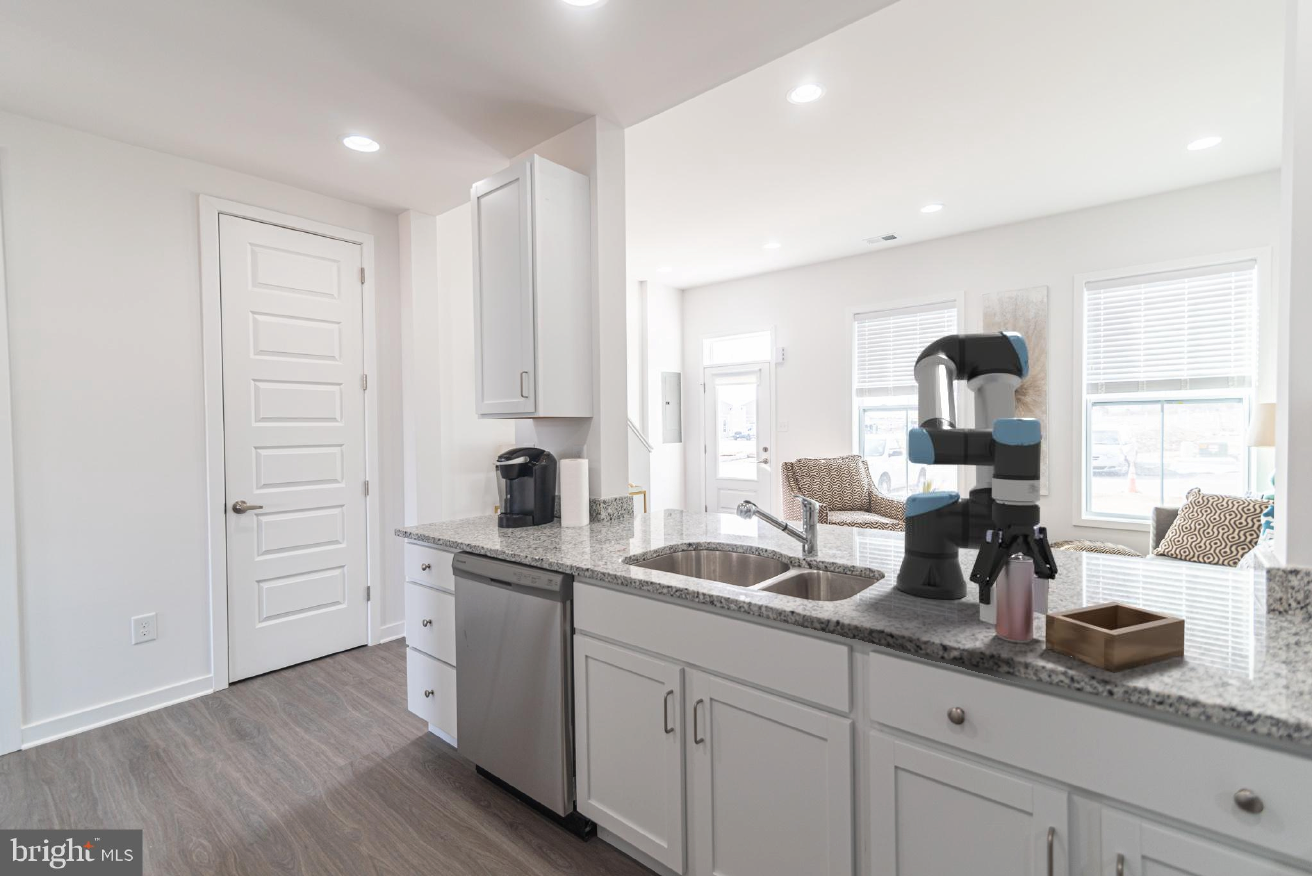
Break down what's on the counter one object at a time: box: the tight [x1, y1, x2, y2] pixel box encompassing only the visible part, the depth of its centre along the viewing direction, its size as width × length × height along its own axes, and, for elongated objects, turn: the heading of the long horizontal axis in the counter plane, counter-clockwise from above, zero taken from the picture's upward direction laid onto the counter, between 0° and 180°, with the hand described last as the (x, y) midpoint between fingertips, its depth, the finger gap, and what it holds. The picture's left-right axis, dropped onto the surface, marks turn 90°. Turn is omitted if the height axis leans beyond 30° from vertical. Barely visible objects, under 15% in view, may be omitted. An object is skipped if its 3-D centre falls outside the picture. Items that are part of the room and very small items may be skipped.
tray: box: [1044, 601, 1186, 673], centre depth 102 cm, size 11×19×6 cm, turn 112°
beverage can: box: [994, 554, 1035, 644], centre depth 108 cm, size 6×6×15 cm
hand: (1014, 617), depth 108 cm, fingers open, 13 cm apart
